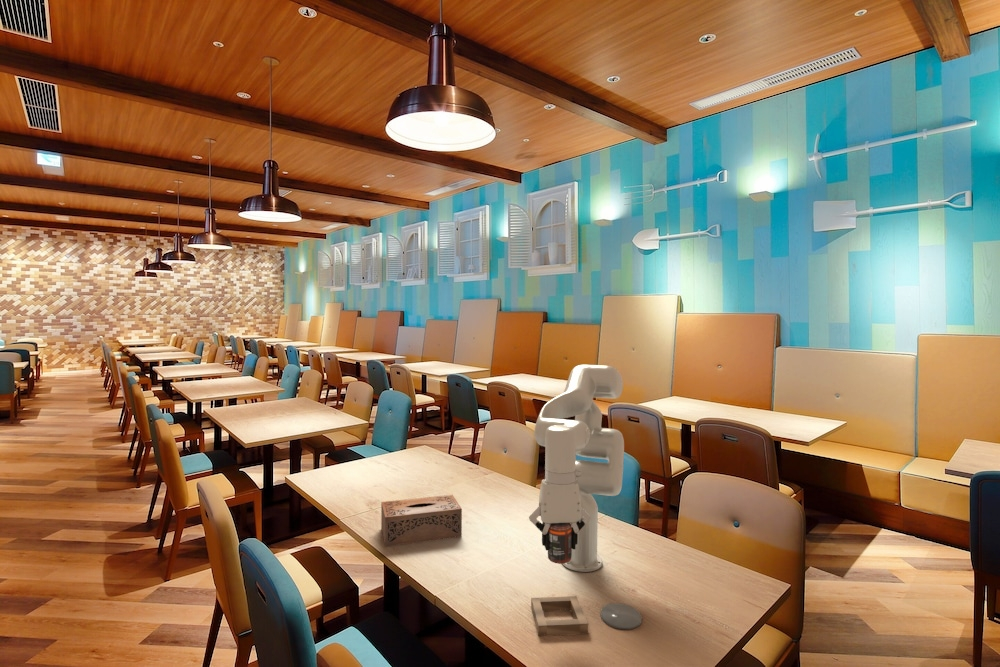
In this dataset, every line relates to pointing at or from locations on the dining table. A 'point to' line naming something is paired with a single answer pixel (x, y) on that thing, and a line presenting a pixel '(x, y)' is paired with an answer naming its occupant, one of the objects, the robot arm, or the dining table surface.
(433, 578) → the dining table surface
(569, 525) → the supplement bottle
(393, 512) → the tissue box cover
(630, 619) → the coaster
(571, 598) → the pocket frame
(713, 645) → the dining table surface
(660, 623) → the dining table surface
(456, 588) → the dining table surface
